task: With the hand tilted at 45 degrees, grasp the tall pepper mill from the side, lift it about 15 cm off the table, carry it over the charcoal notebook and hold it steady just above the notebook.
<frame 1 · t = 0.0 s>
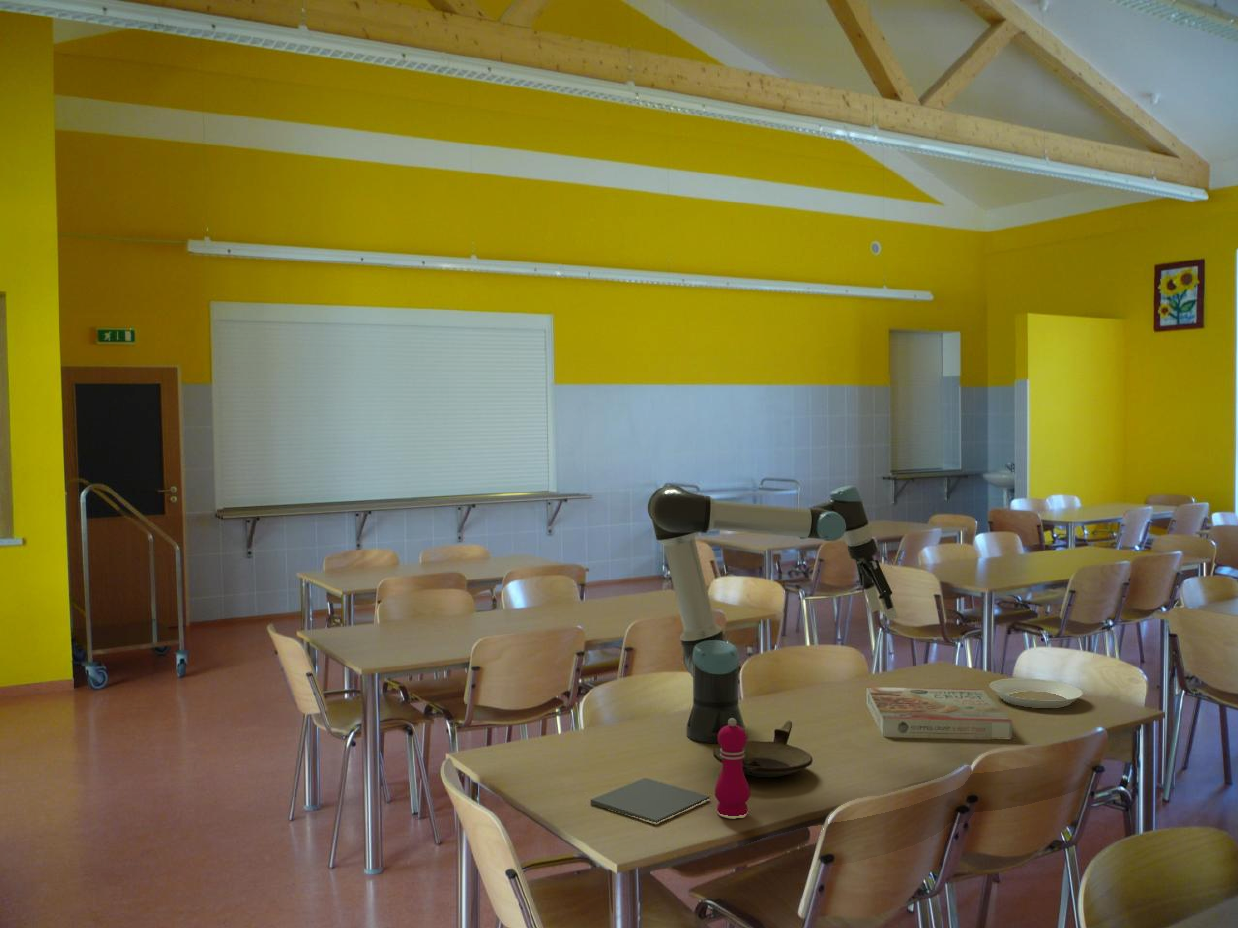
hand: (884, 614, 289), 28 cm above the table, tool tilted 20°, fingers open, 13 cm apart
pepper mill: (732, 814, 219), on the table
ancient handled dish: (770, 771, 246), on the table
white plate: (1035, 701, 305), on the table
pizza box: (934, 723, 286), on the table
charcoal notebook: (650, 802, 226), on the table
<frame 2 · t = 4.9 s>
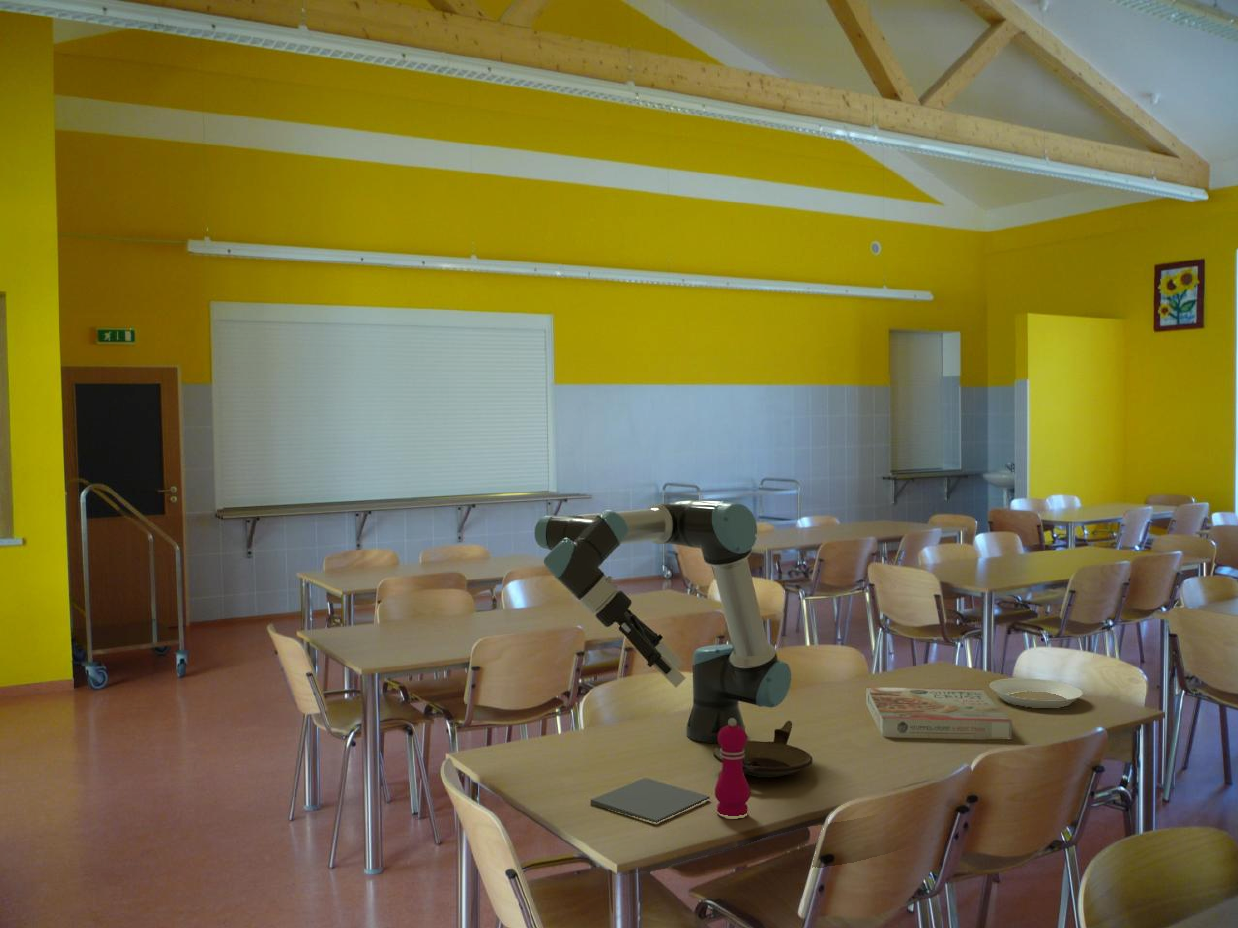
hand: (679, 674, 218), 29 cm above the table, tool tilted 45°, fingers open, 13 cm apart
nothing on the table moved.
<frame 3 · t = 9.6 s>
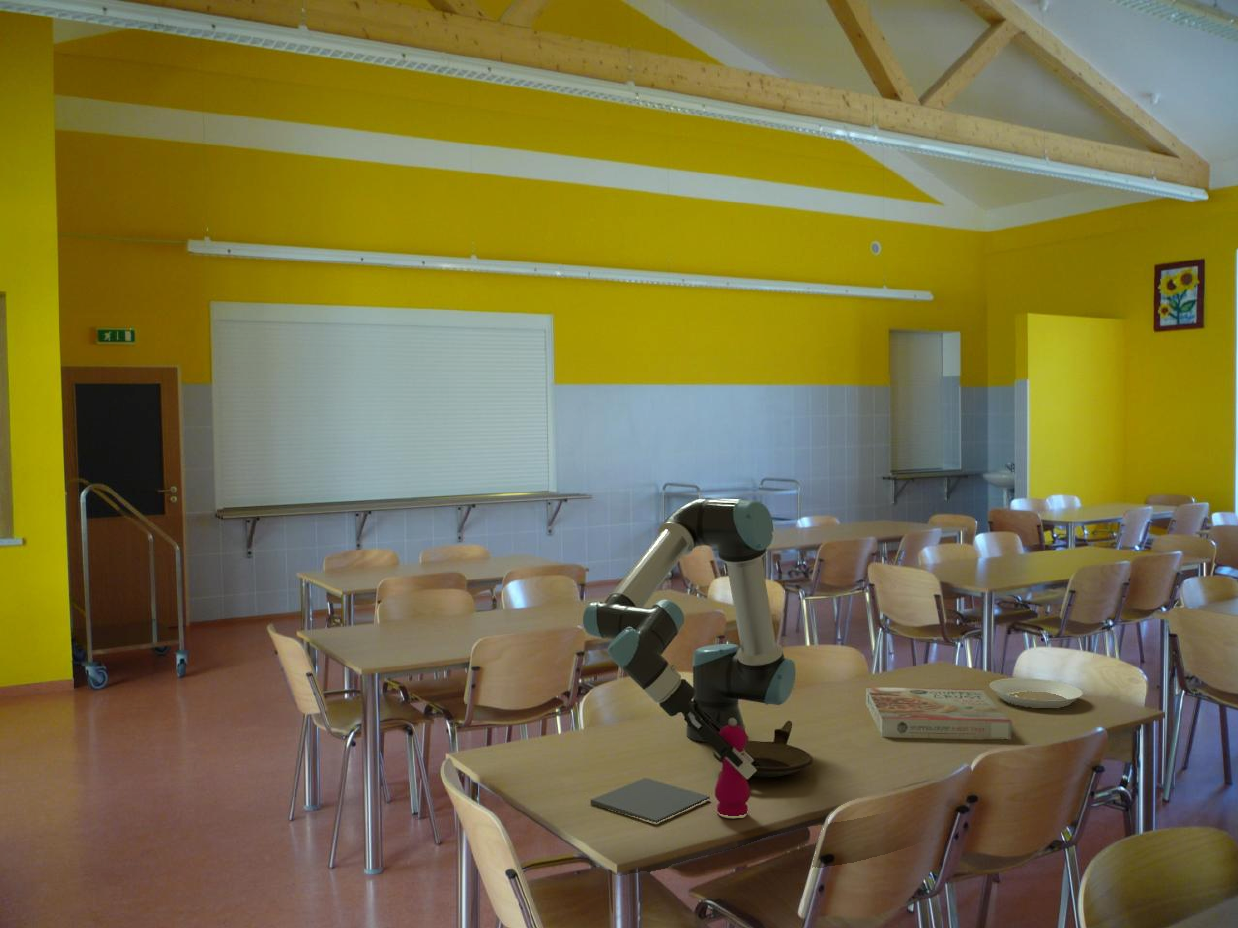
hand: (750, 769, 218), 9 cm above the table, tool tilted 45°, fingers closed on pepper mill, 5 cm apart
pepper mill: (732, 814, 219), on the table, touching gripper
everything else where it was.
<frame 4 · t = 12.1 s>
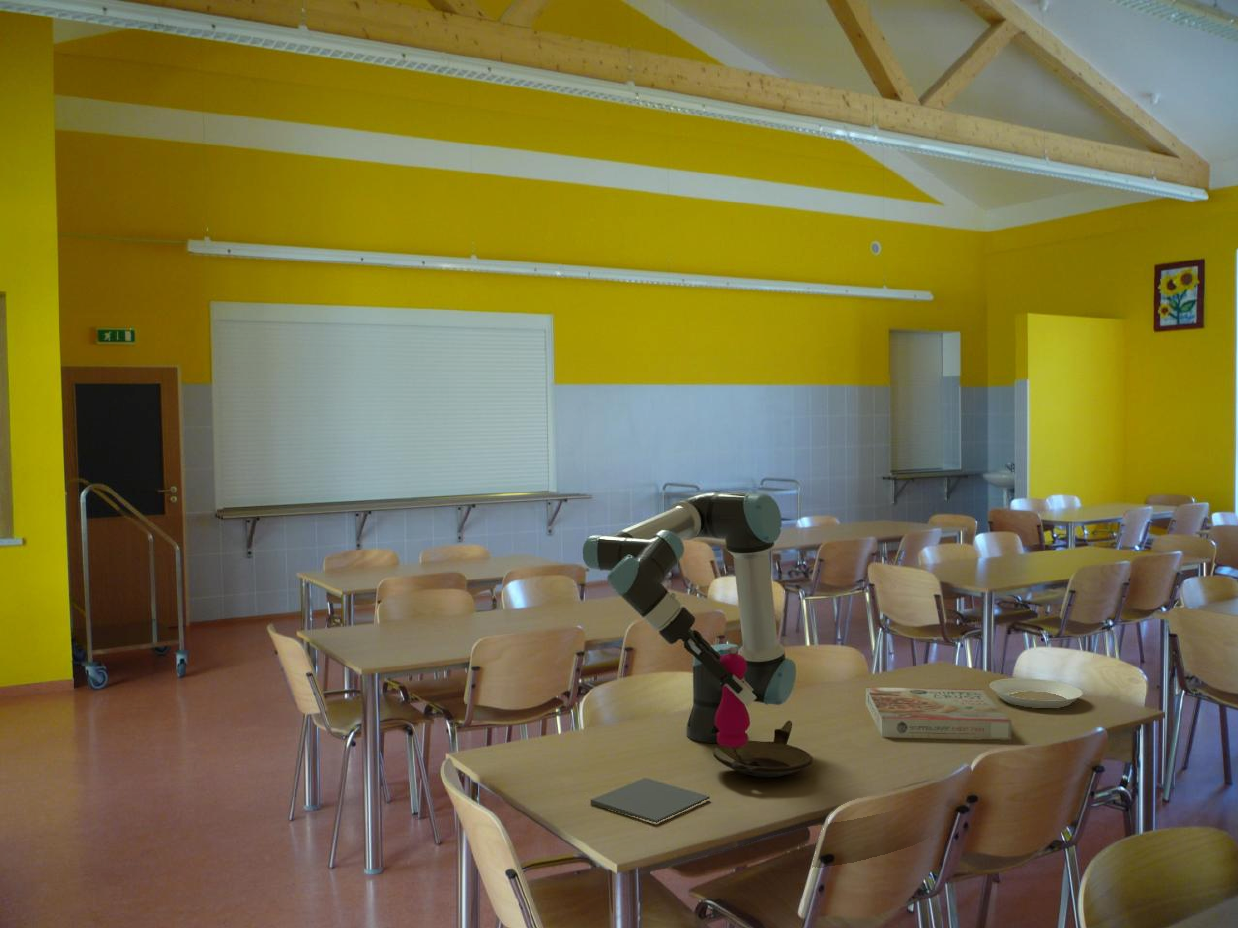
hand: (750, 697, 218), 24 cm above the table, tool tilted 45°, fingers closed on pepper mill, 5 cm apart
pepper mill: (732, 743, 218), point 15 cm above the table, touching gripper
everything else where it was.
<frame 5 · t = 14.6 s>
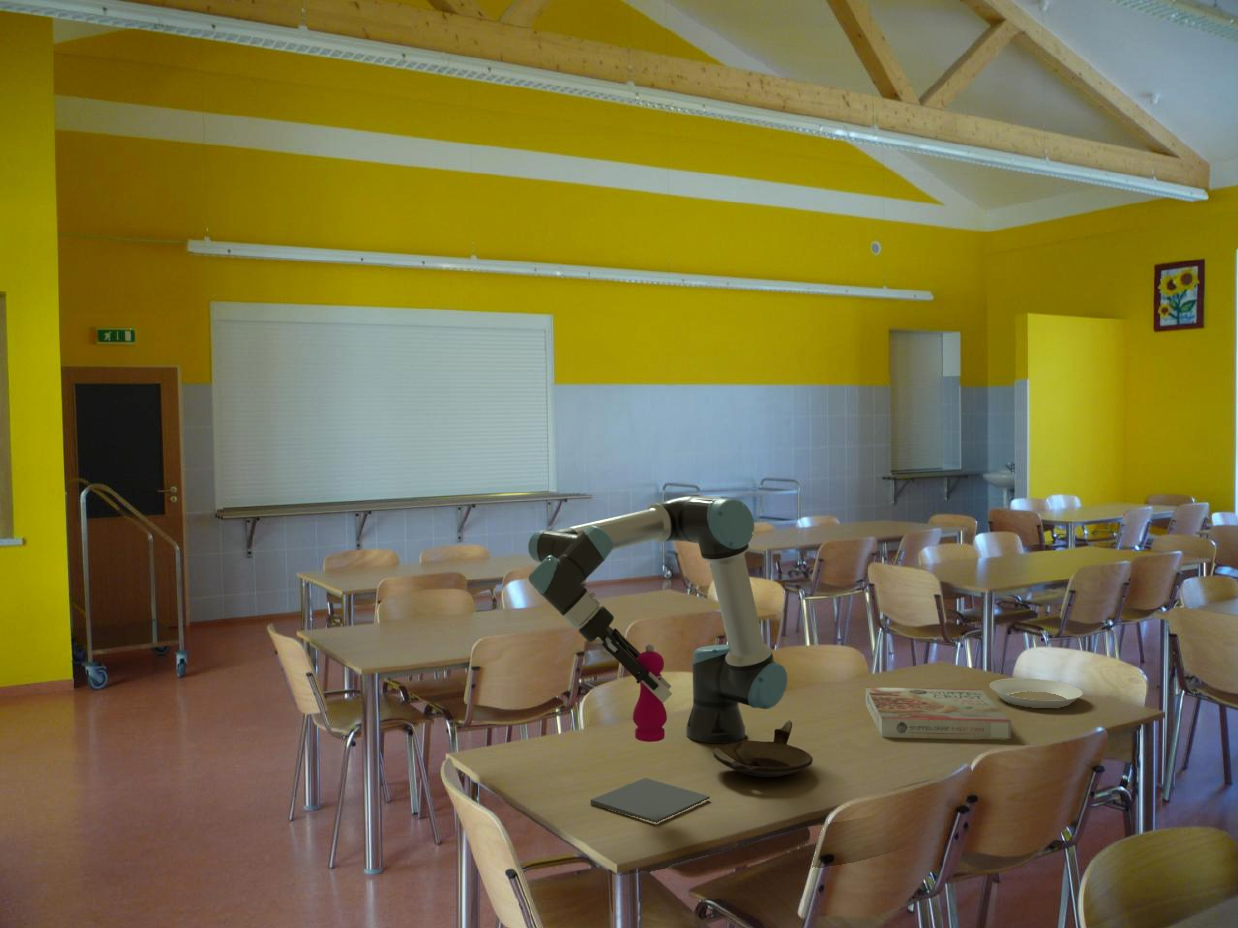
hand: (667, 694, 224), 23 cm above the table, tool tilted 45°, fingers closed on pepper mill, 5 cm apart
pepper mill: (649, 738, 225), point 14 cm above the table, touching gripper
everything else where it was.
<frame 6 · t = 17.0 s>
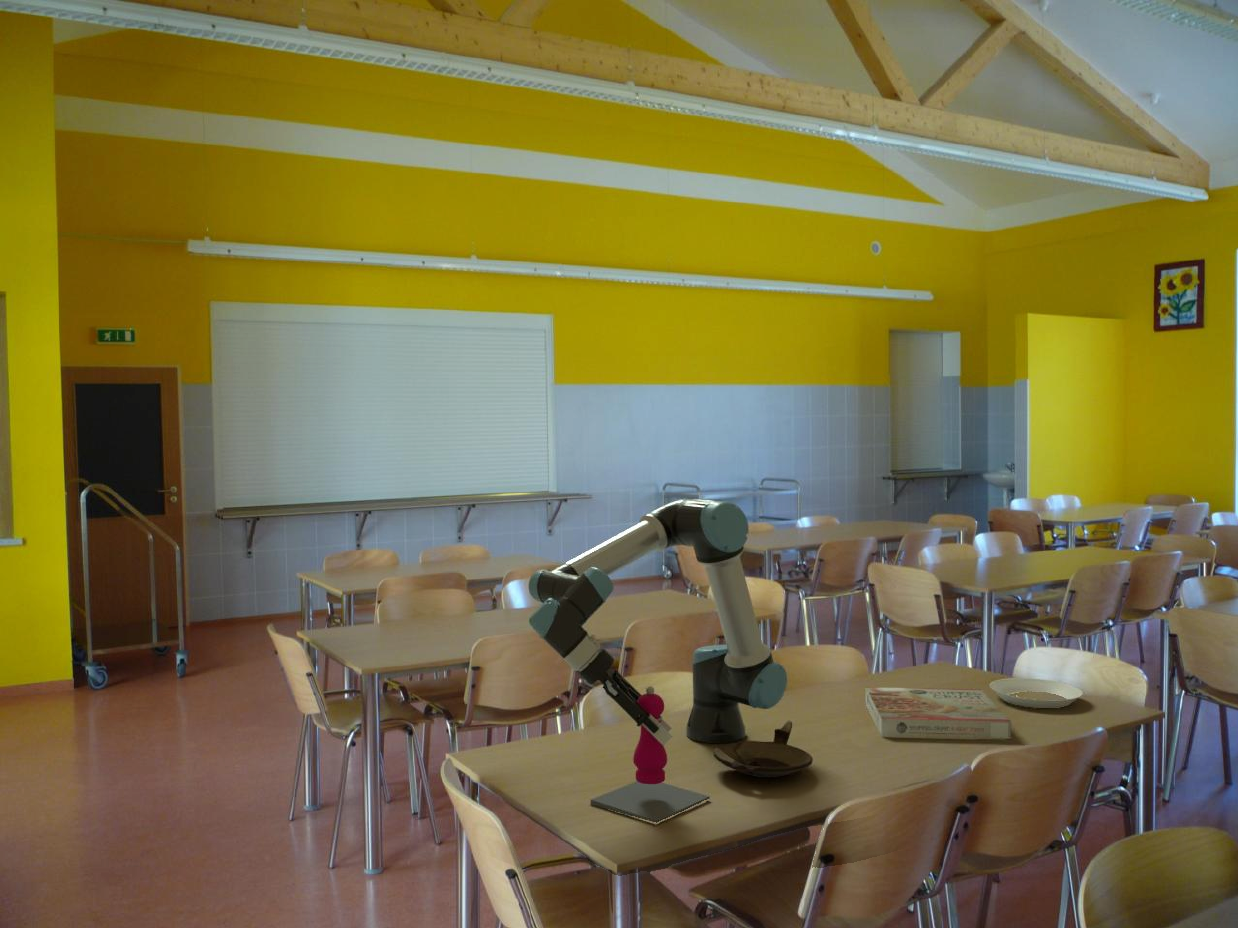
hand: (667, 736, 225), 14 cm above the table, tool tilted 45°, fingers closed on pepper mill, 5 cm apart
pepper mill: (650, 780, 225), point 5 cm above the table, touching gripper
everything else where it was.
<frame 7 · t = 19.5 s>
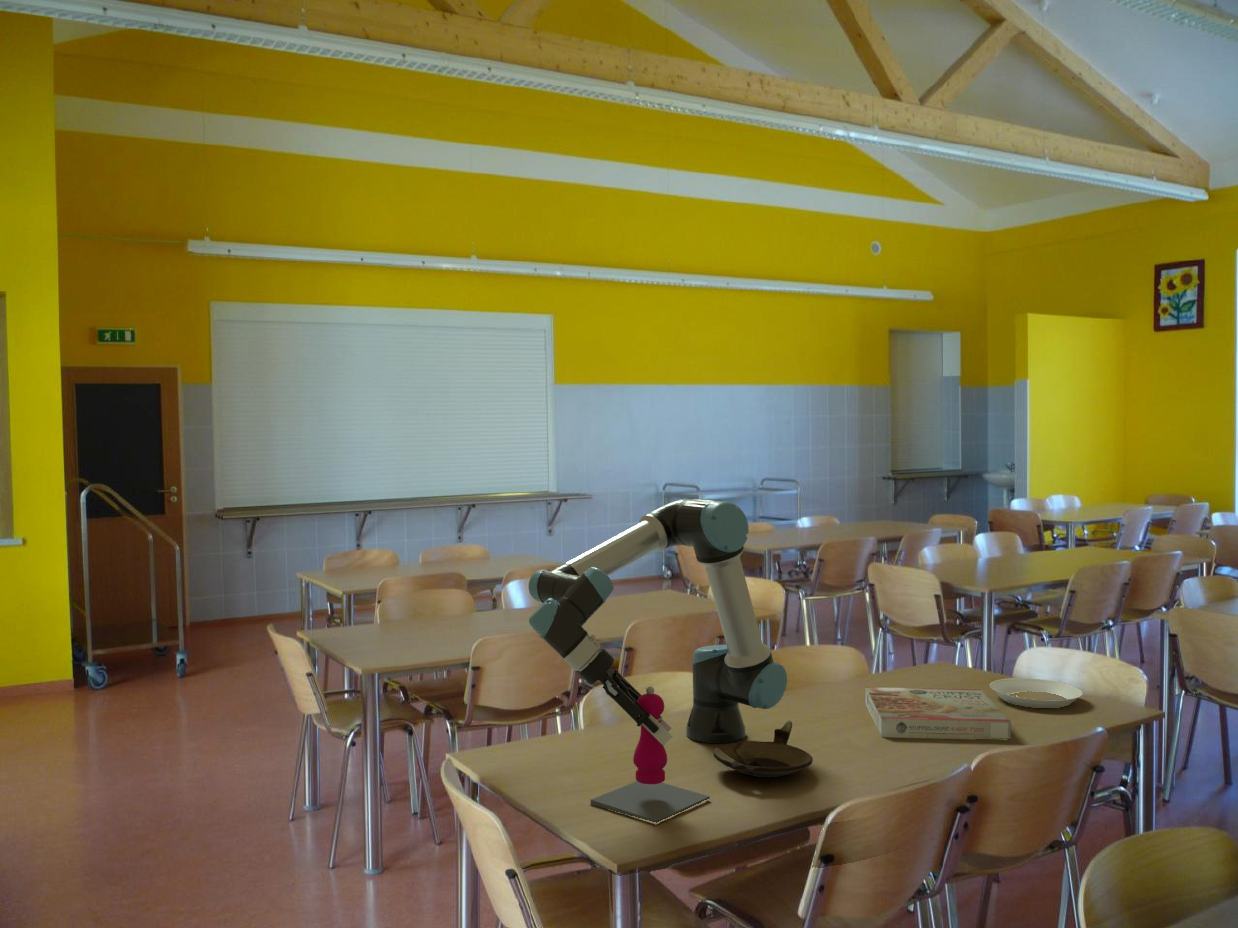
hand: (667, 736, 225), 14 cm above the table, tool tilted 45°, fingers closed on pepper mill, 5 cm apart
pepper mill: (650, 780, 225), point 5 cm above the table, touching gripper
everything else where it was.
at the end: the gripper is holding pepper mill; pepper mill inside the target area on the charcoal notebook (0.1 cm from its centre), point 4.7 cm above the charcoal notebook's base; pepper mill tilted 0° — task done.
